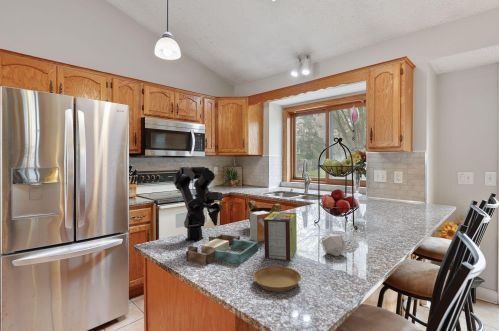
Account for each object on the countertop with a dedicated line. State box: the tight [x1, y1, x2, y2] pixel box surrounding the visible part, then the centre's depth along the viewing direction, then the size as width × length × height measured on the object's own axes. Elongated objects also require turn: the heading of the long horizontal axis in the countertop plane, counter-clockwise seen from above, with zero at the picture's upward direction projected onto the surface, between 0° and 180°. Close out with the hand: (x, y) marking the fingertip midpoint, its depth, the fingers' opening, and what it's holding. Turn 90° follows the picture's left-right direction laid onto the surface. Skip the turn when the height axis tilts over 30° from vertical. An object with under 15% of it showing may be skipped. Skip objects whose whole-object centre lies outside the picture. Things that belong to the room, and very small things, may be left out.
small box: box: [249, 211, 271, 243], centre depth 127 cm, size 8×6×13 cm
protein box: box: [263, 211, 298, 262], centre depth 108 cm, size 10×15×16 cm
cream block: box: [200, 239, 230, 254], centre depth 111 cm, size 7×10×4 cm
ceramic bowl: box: [247, 200, 282, 223], centre depth 147 cm, size 22×17×15 cm
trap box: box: [185, 233, 259, 265], centre depth 109 cm, size 24×26×4 cm
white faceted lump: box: [321, 232, 347, 257], centre depth 106 cm, size 8×9×10 cm
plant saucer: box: [252, 265, 302, 293], centre depth 82 cm, size 15×15×3 cm
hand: (210, 224), depth 112 cm, fingers open, 9 cm apart
